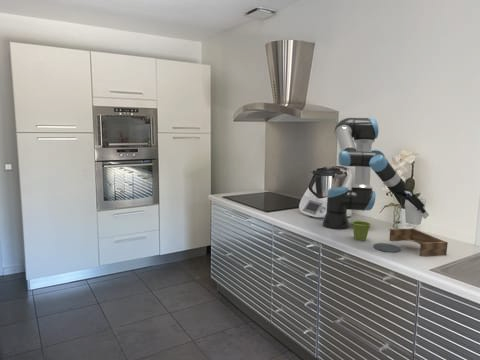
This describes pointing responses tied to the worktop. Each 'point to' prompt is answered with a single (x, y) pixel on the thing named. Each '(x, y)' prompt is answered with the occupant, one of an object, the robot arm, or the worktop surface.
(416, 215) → the cup
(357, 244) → the worktop surface
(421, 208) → the robot arm
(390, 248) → the disc
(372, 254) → the worktop surface
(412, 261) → the worktop surface
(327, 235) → the worktop surface
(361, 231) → the plant pot
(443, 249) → the u-shaped wooden rail
